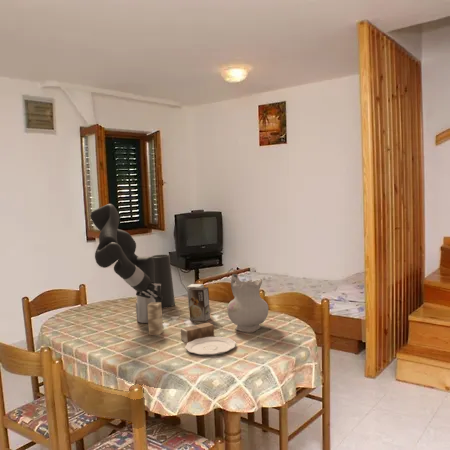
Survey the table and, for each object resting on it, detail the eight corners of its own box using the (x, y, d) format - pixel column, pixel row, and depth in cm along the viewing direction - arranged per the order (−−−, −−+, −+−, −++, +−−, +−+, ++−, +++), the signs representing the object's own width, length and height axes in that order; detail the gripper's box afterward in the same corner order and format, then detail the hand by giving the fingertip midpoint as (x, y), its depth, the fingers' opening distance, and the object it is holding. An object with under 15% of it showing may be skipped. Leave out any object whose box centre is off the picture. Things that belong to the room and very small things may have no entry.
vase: (179, 303, 267) (176, 254, 265) (161, 309, 257) (158, 258, 255) (164, 300, 276) (162, 253, 274) (146, 305, 266) (143, 256, 264)
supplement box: (205, 305, 260) (204, 283, 259) (200, 309, 253) (199, 286, 252) (193, 305, 262) (192, 283, 261) (188, 308, 255) (186, 286, 254)
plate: (195, 361, 176) (195, 357, 176) (179, 345, 195) (178, 342, 195) (244, 351, 184) (244, 347, 184) (223, 337, 203) (223, 333, 203)
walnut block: (185, 331, 197) (213, 324, 205) (180, 328, 202) (208, 322, 209) (186, 342, 198) (214, 335, 205) (181, 339, 202) (208, 333, 209)
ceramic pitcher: (216, 330, 216) (211, 279, 212) (243, 317, 230) (238, 269, 226) (252, 339, 201) (247, 284, 197) (278, 325, 215) (273, 273, 211)
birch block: (149, 334, 211) (147, 305, 210) (153, 331, 216) (151, 302, 215) (159, 334, 210) (157, 305, 209) (163, 331, 215) (161, 302, 214)
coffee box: (210, 318, 234) (209, 287, 233) (205, 321, 228) (204, 289, 227) (194, 317, 237) (193, 286, 236) (189, 320, 232) (187, 289, 230)
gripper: (121, 289, 184) (147, 310, 195) (147, 281, 179) (172, 303, 190) (124, 274, 189) (149, 296, 200) (150, 266, 184) (174, 288, 195)
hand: (160, 299), depth 195 cm, fingers closed
